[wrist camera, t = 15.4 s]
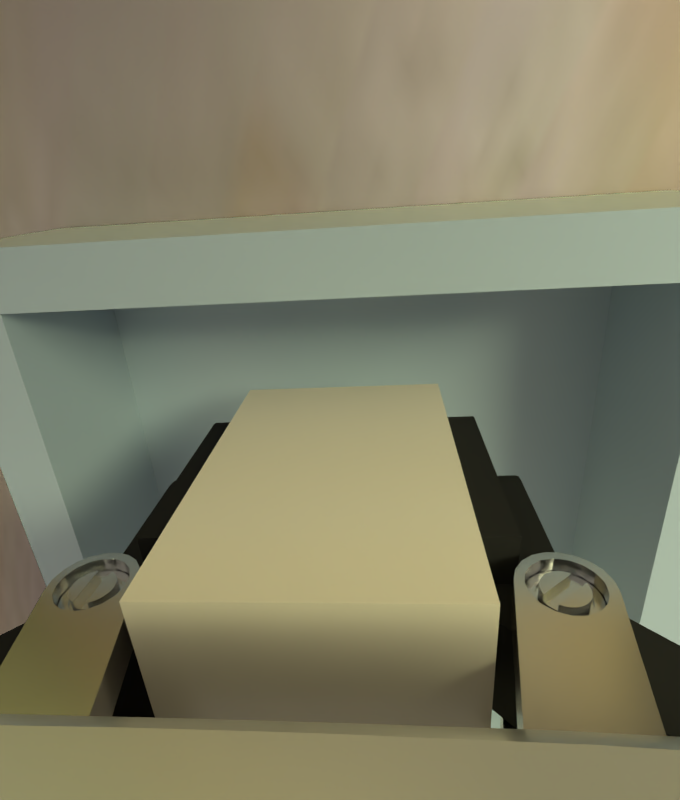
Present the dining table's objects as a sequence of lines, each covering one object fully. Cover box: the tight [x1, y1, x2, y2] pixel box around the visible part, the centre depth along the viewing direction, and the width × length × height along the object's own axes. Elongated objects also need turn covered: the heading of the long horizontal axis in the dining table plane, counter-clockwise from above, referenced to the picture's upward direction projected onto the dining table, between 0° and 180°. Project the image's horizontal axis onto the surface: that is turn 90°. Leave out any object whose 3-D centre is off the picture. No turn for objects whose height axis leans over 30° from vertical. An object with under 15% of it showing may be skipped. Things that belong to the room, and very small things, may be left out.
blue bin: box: [0, 190, 680, 728], centre depth 14 cm, size 15×15×4 cm
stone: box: [119, 384, 500, 728], centre depth 9 cm, size 4×4×6 cm
